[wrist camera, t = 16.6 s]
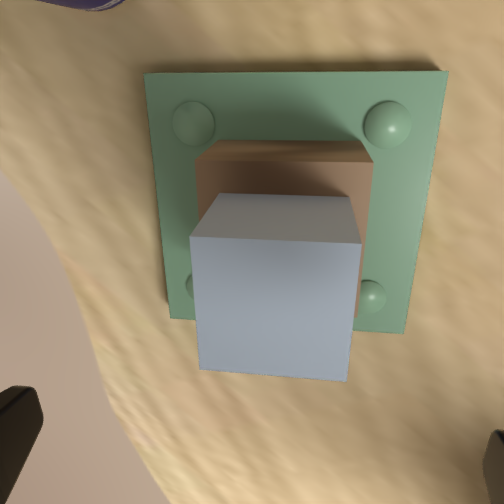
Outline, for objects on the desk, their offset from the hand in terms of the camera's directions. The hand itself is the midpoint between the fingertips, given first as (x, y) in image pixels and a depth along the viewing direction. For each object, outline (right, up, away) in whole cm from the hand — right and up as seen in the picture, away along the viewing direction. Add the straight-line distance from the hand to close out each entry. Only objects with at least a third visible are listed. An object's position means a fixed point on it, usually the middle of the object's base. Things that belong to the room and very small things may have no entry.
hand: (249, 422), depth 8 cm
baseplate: (+2, +5, +12) cm, 13 cm away
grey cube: (+1, +3, +7) cm, 8 cm away
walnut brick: (+2, +5, +11) cm, 12 cm away
